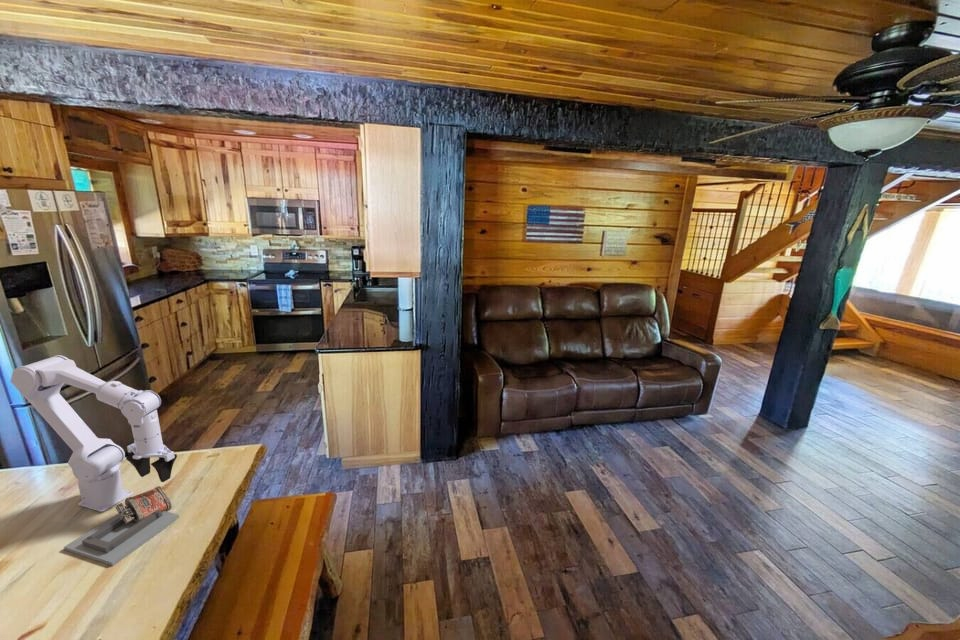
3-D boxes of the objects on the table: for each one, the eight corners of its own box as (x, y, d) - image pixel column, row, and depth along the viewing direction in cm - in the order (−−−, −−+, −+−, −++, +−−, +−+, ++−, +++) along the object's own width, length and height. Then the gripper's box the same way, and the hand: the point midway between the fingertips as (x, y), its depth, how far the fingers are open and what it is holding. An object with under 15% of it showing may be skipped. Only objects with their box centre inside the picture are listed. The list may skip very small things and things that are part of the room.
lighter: (173, 504, 107) (128, 523, 98) (169, 512, 108) (125, 531, 99) (159, 483, 109) (114, 499, 100) (156, 491, 110) (111, 508, 101)
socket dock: (64, 550, 94) (62, 541, 93) (136, 505, 109) (134, 498, 108) (112, 566, 90) (110, 557, 90) (179, 517, 105) (178, 510, 105)
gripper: (111, 437, 103) (120, 481, 106) (152, 447, 100) (160, 491, 103) (139, 425, 110) (147, 466, 113) (178, 433, 106) (185, 475, 110)
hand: (155, 477), depth 109 cm, fingers open, 7 cm apart
